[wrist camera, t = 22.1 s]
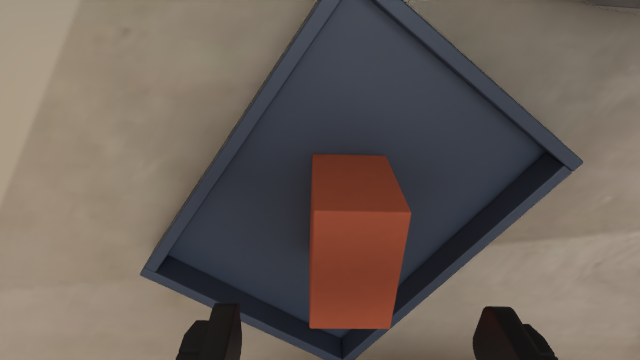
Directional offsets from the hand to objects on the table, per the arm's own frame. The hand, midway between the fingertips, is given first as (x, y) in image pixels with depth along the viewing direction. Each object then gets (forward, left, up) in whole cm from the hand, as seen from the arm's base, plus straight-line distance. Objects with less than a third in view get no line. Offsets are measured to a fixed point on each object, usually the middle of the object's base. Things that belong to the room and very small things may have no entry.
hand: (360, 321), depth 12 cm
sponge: (0, 0, -7) cm, 7 cm away
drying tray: (0, 0, -8) cm, 8 cm away
